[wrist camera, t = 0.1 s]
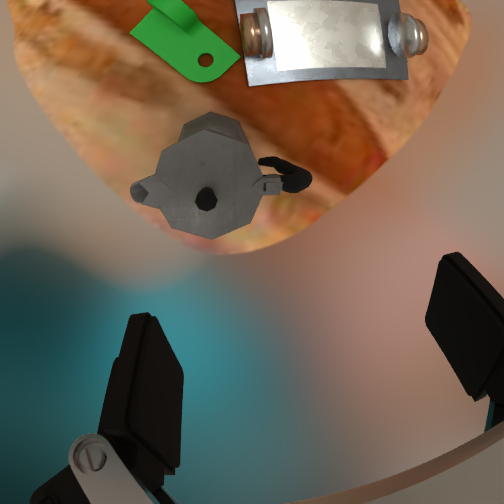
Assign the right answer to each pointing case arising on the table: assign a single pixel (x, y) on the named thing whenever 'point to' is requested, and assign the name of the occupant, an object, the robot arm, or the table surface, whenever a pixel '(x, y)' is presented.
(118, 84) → the table surface
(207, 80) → the mechanical part
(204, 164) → the coffeepot
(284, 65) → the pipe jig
